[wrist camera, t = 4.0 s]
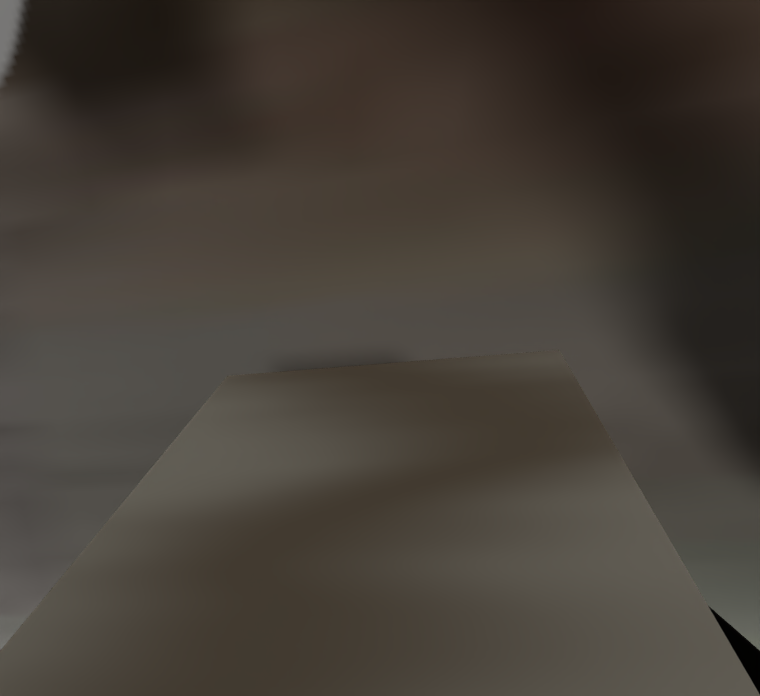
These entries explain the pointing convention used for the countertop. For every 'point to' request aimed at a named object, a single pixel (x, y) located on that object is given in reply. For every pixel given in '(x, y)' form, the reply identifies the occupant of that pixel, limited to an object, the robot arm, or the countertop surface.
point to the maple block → (382, 551)
